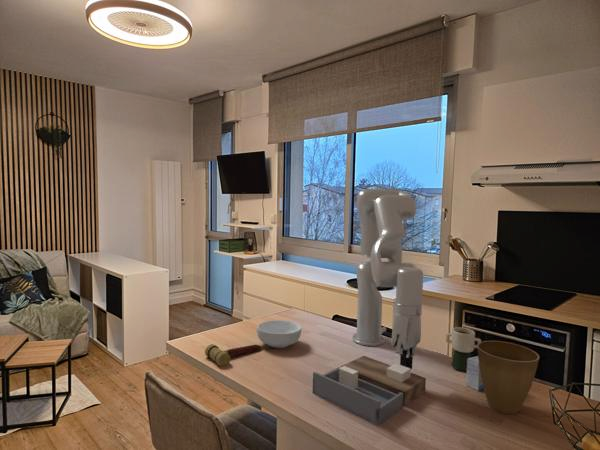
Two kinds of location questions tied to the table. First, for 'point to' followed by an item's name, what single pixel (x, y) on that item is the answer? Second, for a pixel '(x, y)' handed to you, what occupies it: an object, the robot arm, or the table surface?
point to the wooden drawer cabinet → (387, 378)
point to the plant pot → (506, 374)
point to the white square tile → (348, 377)
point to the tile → (398, 372)
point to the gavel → (228, 353)
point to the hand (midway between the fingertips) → (405, 368)
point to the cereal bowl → (279, 333)
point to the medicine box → (474, 374)
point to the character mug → (462, 346)
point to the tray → (358, 397)
